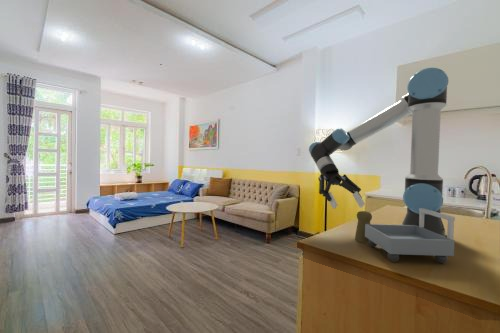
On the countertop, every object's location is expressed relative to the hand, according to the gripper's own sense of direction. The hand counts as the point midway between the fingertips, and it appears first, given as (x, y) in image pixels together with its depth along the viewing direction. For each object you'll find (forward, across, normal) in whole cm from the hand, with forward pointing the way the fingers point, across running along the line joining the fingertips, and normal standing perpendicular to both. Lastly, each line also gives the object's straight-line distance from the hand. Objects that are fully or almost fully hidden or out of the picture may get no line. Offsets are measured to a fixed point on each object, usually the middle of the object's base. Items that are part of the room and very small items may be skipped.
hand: (349, 206), depth 95 cm
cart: (+24, -3, +8) cm, 25 cm away
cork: (+14, 0, -3) cm, 14 cm away
